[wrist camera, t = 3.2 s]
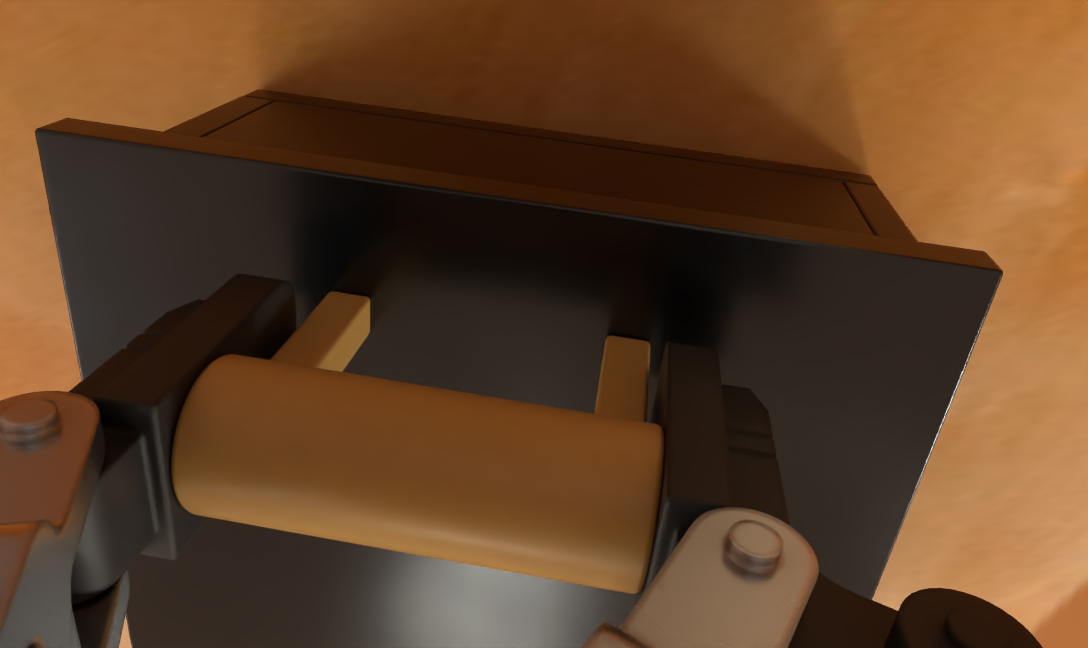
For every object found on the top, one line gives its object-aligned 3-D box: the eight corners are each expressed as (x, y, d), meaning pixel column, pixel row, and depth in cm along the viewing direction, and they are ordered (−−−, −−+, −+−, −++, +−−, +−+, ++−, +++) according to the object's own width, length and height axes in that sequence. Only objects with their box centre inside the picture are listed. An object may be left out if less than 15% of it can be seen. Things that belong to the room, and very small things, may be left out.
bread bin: (256, 88, 20) (76, 169, 14) (871, 174, 19) (965, 303, 13) (283, 544, 27) (171, 730, 21) (735, 626, 26) (754, 848, 20)
